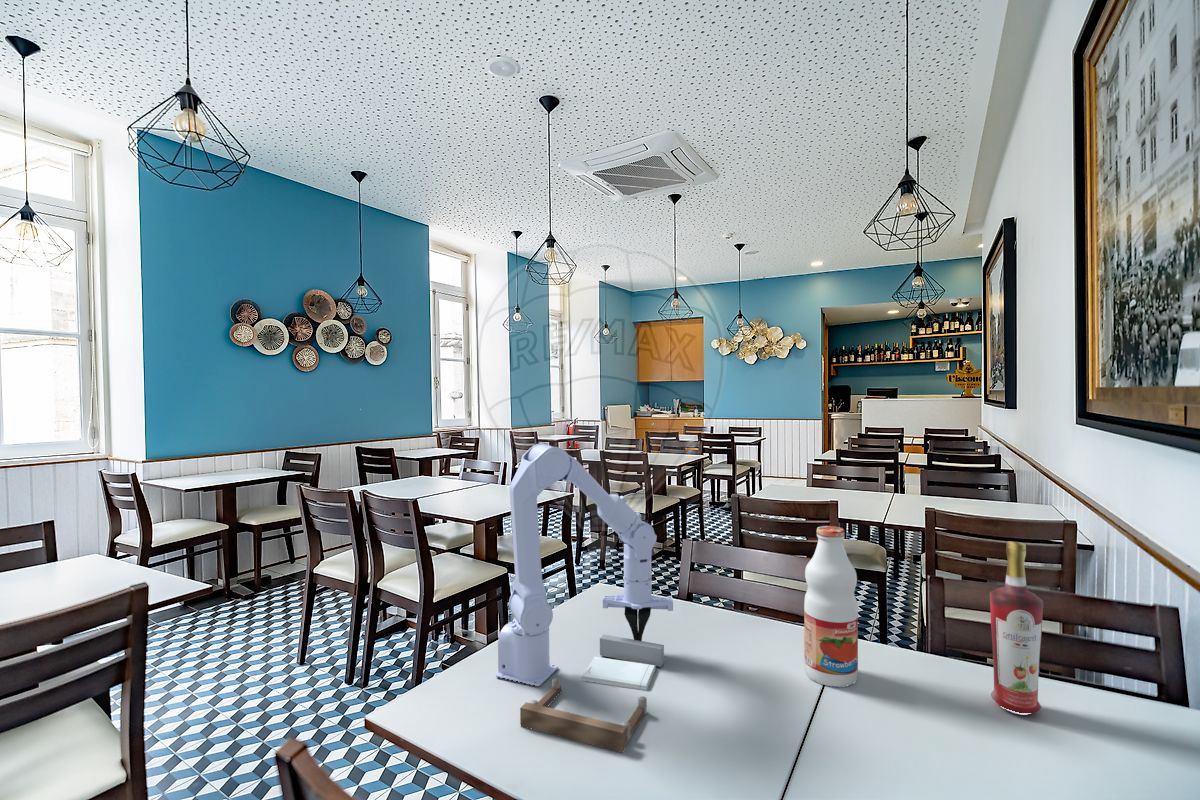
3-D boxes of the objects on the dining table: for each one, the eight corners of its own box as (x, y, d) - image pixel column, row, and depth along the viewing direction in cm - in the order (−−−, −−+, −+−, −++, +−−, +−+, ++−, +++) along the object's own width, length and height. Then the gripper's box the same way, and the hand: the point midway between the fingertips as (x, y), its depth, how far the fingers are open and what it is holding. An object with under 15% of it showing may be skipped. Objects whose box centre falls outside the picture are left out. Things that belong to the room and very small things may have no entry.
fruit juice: (830, 660, 114) (830, 520, 114) (869, 682, 106) (869, 531, 105) (793, 669, 111) (793, 525, 110) (830, 693, 102) (830, 537, 101)
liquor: (1036, 702, 98) (1036, 540, 98) (1048, 724, 92) (1049, 551, 91) (985, 693, 101) (985, 536, 101) (993, 714, 95) (994, 546, 94)
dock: (520, 726, 93) (520, 707, 93) (554, 690, 104) (554, 674, 104) (622, 752, 86) (622, 732, 86) (647, 711, 97) (647, 694, 96)
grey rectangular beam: (599, 655, 117) (599, 638, 117) (603, 651, 118) (603, 634, 118) (661, 666, 111) (660, 649, 111) (664, 662, 113) (663, 644, 113)
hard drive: (581, 675, 107) (646, 684, 103) (594, 655, 115) (655, 663, 111) (581, 684, 107) (646, 693, 103) (594, 663, 115) (655, 671, 111)
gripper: (600, 582, 115) (601, 649, 116) (672, 585, 114) (673, 653, 114) (604, 571, 122) (605, 634, 123) (672, 574, 121) (673, 637, 121)
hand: (638, 642), depth 119 cm, fingers closed
